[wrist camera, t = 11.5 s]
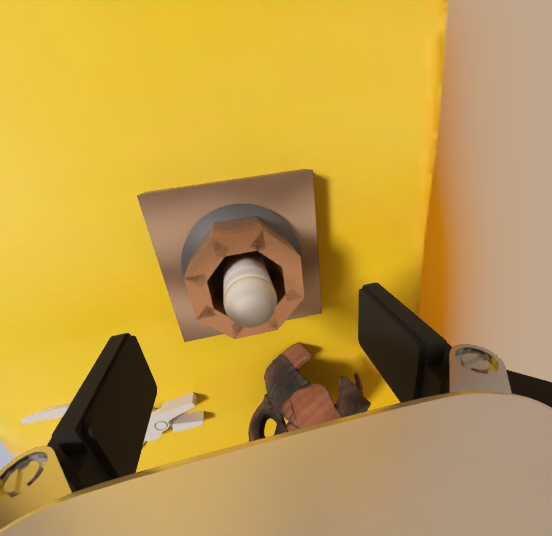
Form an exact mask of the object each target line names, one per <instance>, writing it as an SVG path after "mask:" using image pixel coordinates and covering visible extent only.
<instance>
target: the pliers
mask: <svg viewBox="0 0 552 536" xmlns="http://www.w3.org/2000/svg"><path fill="white" fill-rule="evenodd" d="M196 398H197V396H196V395H195V394H194V392H193V393H190V394H187V395H184V396H182V397H179V398H176V399H173V400H170V401H167V402H164V403H163V405H162V406H161V408H159V409H156V408H153V409H152V413H151V417H150V420H149V424H148V428H147V432H146V435H145V439H144V442H145V441H149V442H152V441H154V440H156V439H158V438H160V436H161V434H162V432H163V431H165V430H167V429H168V428H169V427H173V430H174V433H175V432H179V431H182V430H186V429H190V428H194V427H197V426H201V425H203V422H204V411H199V412H191V413H184V412H186V411H187V410H189V409H191V408H193V407H195V406H196ZM69 406H70V404H65V405H60V406H55V407H51V408H47V409H44V410H41V411H38V412H36V413H33V414H31V415H28V416H26V417H24V418H23V419H22V420H21V422H22V423H23V424H28V423H33V422H38V421H43V420H48V419H54V418H61V417H63V416H64V414H65V412H66V411H67V409H68V407H69ZM143 444H144V443H143Z"/></svg>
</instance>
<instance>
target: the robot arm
mask: <svg viewBox="0 0 552 536" xmlns="http://www.w3.org/2000/svg"><path fill="white" fill-rule="evenodd" d="M358 340H359V344H360V346H361V347H362V349H363V350H364V352H365V353H366V354H367V356H368V357H369V359H370V360H371V361H372V363H373V364H374V366H375V367H376V368H377V370H378V371H379V373H380V374H381V375H382V377H383V378H384V380H385V381H386V382H387V384H388V385H389V387H390V388H391V389H392V391H393V392H394V394H395V395H396V397H397V398H398V399H399V401H400V402H401V403H399V404H394V405H390V406H386V407H382V408H378V409H374V410H370V411H367V412H363V413H359V414H355V415H351V416H347V417H343V418H339V419H335V420H332V421H328V422H324V423H320V424H316V425H312V426H308V427H305V428H301V429H297V430H293V431H289V432H286V433H282V434H278V435H274V436H270V437H267V438H263V439H259V440H255V441H251V442H248V443H244V444H240V445H236V446H233V447H229V448H225V449H221V450H218V451H214V452H210V453H207V454H203V455H199V456H195V457H192V458H188V459H184V460H181V461H177V462H173V463H169V464H166V465H162V466H158V467H155V468H151V469H148V470H144V471H141V472H137V473H135V472H136V469H137V465H138V461H139V457H140V454H141V450H142V446H143V443H144V439H145V435H146V432H147V428H148V424H149V420H150V417H151V413H152V409H153V406H154V402H155V398H156V395H157V386H156V383H155V380H154V378H153V376H152V373H151V371H150V369H149V366H148V364H147V362H146V359H145V357H144V355H143V352H142V350H141V348H140V345H139V343H138V341H137V339H136V337H135V336H131V335H130V334H129V333H125V334H120V335H116V336H112V337H111V338H110V339H109V341H108V342H107V344H106V346H105V347H104V349H103V351H102V352H101V354H100V356H99V357H98V359H97V361H96V362H95V364H94V366H93V367H92V369H91V371H90V372H89V374H88V376H87V377H86V379H85V381H84V382H83V384H82V386H81V387H80V389H79V391H78V392H77V394H76V396H75V397H74V399H73V401H72V402H71V404H70V406H69V407H68V409H67V411H66V412H65V414H64V416H63V417H62V419H61V421H60V422H59V424H58V426H57V427H56V429H55V431H54V432H53V434H52V438H51V440H50V441H49V443H48V445H47V446H41V447H36V448H33V449H31V450H28V451H26V452H24V453H23V454H21V455H19V456H18V457H16V458H15V459H13V460H12V461H11V462H10V463H8V464H7V465H6V466H5V467H4V468H3V469H2V470H1V471H0V536H552V382H548V381H545V380H541V379H537V378H534V377H530V376H527V375H523V374H519V373H516V372H512V371H509V370H506V368H505V365H504V363H503V361H502V360H501V359H500V358H499V357H498V356H497V355H495V354H494V353H492V352H491V351H489V350H487V349H484V348H482V347H479V346H475V345H468V344H462V345H457V346H454V347H451V346H450V345H449V344H448V343H447V341H446V340H445V339H444V338H443V337H441V336H440V335H439V334H438V333H437V332H435V331H434V330H433V329H432V328H431V327H429V326H428V325H427V324H426V323H425V322H424V321H422V320H421V319H420V318H419V317H418V316H416V315H415V314H414V313H413V312H412V311H411V310H409V309H408V308H407V307H406V306H405V305H403V304H402V303H401V302H400V301H399V300H397V299H396V298H395V297H394V296H393V295H392V294H390V293H389V292H388V291H387V290H386V289H384V288H383V287H382V286H381V285H380V284H378V283H371V284H366V285H363V287H362V289H360V290H359V321H358Z"/></svg>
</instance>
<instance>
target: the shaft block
mask: <svg viewBox="0 0 552 536" xmlns="http://www.w3.org/2000/svg"><path fill="white" fill-rule="evenodd" d="M137 197H138V200H139V203H140V206H141V210H142V213H143V216H144V219H145V222H146V225H147V228H148V231H149V234H150V237H151V240H152V243H153V247H154V250H155V253H156V256H157V259H158V262H159V265H160V268H161V271H162V274H163V277H164V280H165V284H166V287H167V290H168V293H169V296H170V299H171V302H172V305H173V308H174V311H175V314H176V317H177V321H178V324H179V327H180V330H181V333H182V336H183V339H184V342H187V341H192V340H196V339H201V338H206V337H211V336H215V335H220V334H224V333H222V332H220V331H218V330H216V329H214V328H212V327H210V326H208V325H206V324H204V323H202V322H200V321H198V320H196V318H195V314H194V311H193V307H192V304H191V301H190V297H189V294H188V290H187V287H186V283H185V280H184V276H185V273H186V270H187V267H188V264H189V261H190V258H191V255H192V254H193V252H194V251H195V249H196V248H197V247H198V245H199V244H200V242H201V241H202V239H203V238H204V236H205V235H206V234H207V232H208V231H209V229H210V228H211V226H212V225H213V223H214V222H221V221H227V220H233V219H239V218H245V217H251V216H256V217H257V218H259V219H260V220H262V221H263V222H264V223H266V224H267V225H268V226H270V227H271V228H273V229H274V230H275V231H277V232H278V233H279V234H281V235H282V236H284V237H285V238H286V239H287V240H288V241H289V242H290V244H291V245H292V246H293V247H294V249H295V250H296V251H297V252H298V254H299V255H300V256H301V266H302V277H303V288H304V299H303V300H302V301H301V302H300V303H299V305H298V306H297V307H296V308H295V309H294V311H293V312H292V313H291V314H290V315H289V317H288V318H287V319H286V320H291V319H295V318H300V317H305V316H309V315H314V314H319V313H322V306H321V291H320V275H319V260H318V244H317V229H316V214H315V198H314V183H313V170H308V169H302V170H295V171H288V172H281V173H275V174H268V175H261V176H254V177H247V178H240V179H233V180H226V181H219V182H212V183H205V184H198V185H192V186H185V187H178V188H171V189H164V190H157V191H150V192H144V193H142V194H140V195H137ZM274 271H275V269H274V261H272V260H271V259H269V258H268V257H266V256H265V255H263V254H262V253H260V252H259V251H252V252H247V253H241V254H235V255H230V256H225V257H224V258H223V260H222V261H221V262H220V264H219V265H218V267H217V268H216V269H215V271H214V272H213V274H214V278H215V282H217V283H218V284H220V285H222V286H224V308H225V311H226V313H227V315H228V317H229V318H230V319H231V320H232V321H233V322H234V323H236V324H237V325H239V326H242V327H246V328H254V327H258V326H261V325H263V324H264V323H266V322H267V321H268V320H269V319H270V318H271V317H272V316H273V314H274V312H275V309H276V306H277V296H276V292H275V289H274V287H273V284H272V282H271V279H270V276H271V275H272V274H273V272H274ZM286 320H285V321H286Z"/></svg>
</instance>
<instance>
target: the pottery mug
mask: <svg viewBox="0 0 552 536" xmlns="http://www.w3.org/2000/svg"><path fill="white" fill-rule="evenodd" d="M311 359H312V355H311V353H310V352H309V351H308V350H306V349H305V347H304V346H303V345H302V344H301V343H296V344H294V345H292V346H291V347H289V348H288V349H287V350H285V351H284V352H283V353H282V354H280V355H279V356H278V357H277V358H276V359H275V360H273V362H272V363H271V364H270V365H269V366H268V368H267V370H266V372H265V375H264V379H265V384H266V390H267V394H265V396H264V400H263V402H262V403H261V404H260V405H259V407H258V408H257V409H256V411H255V413H254V414H253V416H252V419H251V421H250V425H249V432H248V433H249V442H251V441H255V440H259V439H263V438H266V437H265V436H264V428H265V424H266V421H267V420H268V419H269V418H272V419H273V420H274V421H275V422H276V423H277V426H276V430H275V434H274V435H278V434H282V433H286V432H289V431H293V430H297V429H301V428H305V427H308V426H312V425H316V424H320V423H324V422H328V421H332V420H335V419H339V418H343V417H347V416H351V415H355V414H359V413H363V412H366V411H367V410H368V408H369V407H370V405H371V403H370V402H369V401H368V400H367V399H366V398H365V397H364V396H363V392H362V389H363V388H362V384H361V380H360V378H359V375H358V374H357V373H355V374H354V376H355V380H356V385H355V384H354V383H353V382H351V381H350V379H349V378H348V377H346V376H341V377H338V379H337V381H338V384H339V386H340V389H339V397H338V401H337V404H335V405H334V403H333V401H332V399H331V396H330V394H329V392H328V390H327V388H326V387H324V386H323V385H321V384H319V383H315V384H310V383H309V382H308V380H306V379H305V378H304V377H303V376H302V375H301V374H300V373H299V371H298V370H299V369H300V368H301V367H302V366H303V365H304V364H305V363H307V362H308V361H309V360H311ZM283 416H284V417H285V418H286V419H287V420H288V421H289V422H288V423H287V425H286V423H285V421H284V417H283Z"/></svg>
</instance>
